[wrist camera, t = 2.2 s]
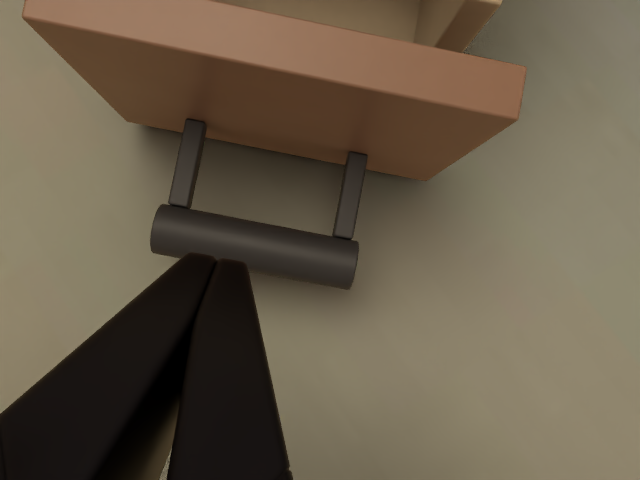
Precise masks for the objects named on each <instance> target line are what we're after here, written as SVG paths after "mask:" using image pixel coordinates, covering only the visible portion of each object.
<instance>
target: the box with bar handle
mask: <svg viewBox="0 0 640 480" xmlns="http://www.w3.org/2000/svg"><path fill="white" fill-rule="evenodd" d="M501 4H502V0H25V3H24V8H23V12H22V18H23V19H24V20H25V21H26V22H27V23H28V24H29V25H30V26H31V27H32V28H33V29H34V30H35V31H36V32H37V33H38V34H39V35H40V36H41V37H42V38H43V39H44V40H45V41H46V42H47V43H48V44H49V45H50V46H51V47H52V48H53V49H54V50H55V51H56V52H57V53H58V54H59V55H60V56H61V57H62V58H63V59H64V60H65V61H66V62H67V63H68V64H69V65H70V66H71V67H72V68H73V69H74V70H75V71H76V72H77V73H78V74H79V75H80V76H81V77H82V78H83V79H84V80H85V81H86V82H87V83H88V84H89V85H91V86H92V87H93V88H94V89H95V90H96V91H97V92H98V93H99V94H100V95H101V96H102V97H103V98H104V99H105V100H106V101H107V102H108V103H109V104H110V105H111V106H112V107H113V108H114V109H115V110H116V111H117V112H118V113H119V114H120V115H121V116H122V117H123V118H124V119H125V120H126V121H127V122H132V123H137V124H142V125H147V126H152V127H157V128H162V129H167V130H172V131H177V132H182V133H183V134H182V139H181V143H180V148H179V153H178V158H177V163H176V167H175V172H174V177H173V182H172V186H171V191H170V196H169V201H168V203H169V204H170V205H166V204H162V205H160V207H159V208H158V210H157V212H156V215H155V218H154V221H153V225H152V230H151V238H150V246H151V251H152V252H153V253H155V254H161V255H166V256H171V257H177V258H182V257H183V256H184V255H186V254H187V253H190V252H195V253H200V254H205V255H211V256H214V257H215V258H216V259H217V261H218V260H219V259H220V258H226V259H232V260H237V261H242V262H244V263H246V265H247V267H248V271H251V272H256V273H262V274H267V275H272V276H278V277H283V278H288V279H294V280H299V281H304V282H309V283H315V284H320V285H325V286H331V287H336V288H341V289H347V290H348V289H350V287H351V285H352V282H353V279H354V275H355V271H356V266H357V260H358V251H359V244H358V242H357V241H353V240H351V239H352V238H353V235H354V229H355V224H356V218H357V213H358V207H359V202H360V197H361V191H362V186H363V180H364V175H365V169H367V170H372V171H377V172H382V173H387V174H392V175H397V176H402V177H407V178H412V179H417V180H422V181H427V180H429V179H430V178H432V177H433V176H435V175H436V174H438V173H439V172H441V171H442V170H444V169H445V168H447V167H448V166H450V165H451V164H453V163H454V162H456V161H457V160H459V159H460V158H462V157H463V156H465V155H466V154H468V153H469V152H471V151H472V150H474V149H475V148H477V147H478V146H480V145H481V144H483V143H484V142H486V141H487V140H489V139H490V138H492V137H493V136H495V135H496V134H498V133H499V132H501V131H502V130H504V129H505V128H507V127H508V126H510V125H511V124H513V123H514V122H516V121H517V120H518V119H519V113H520V107H521V101H522V95H523V89H524V83H525V77H526V71H527V68H526V67H525V66H521V65H516V64H511V63H507V62H502V61H497V60H492V59H488V58H483V57H478V56H474V55H469V54H464V53H463V51H464V50H465V49H466V48H467V46H468V45H469V44H470V43H471V41H472V40H473V39H474V38H475V36H476V35H477V34H478V33H479V31H480V30H481V29H482V28H483V26H484V25H485V24H486V23H487V21H488V20H489V19H490V18H491V16H492V15H493V14H494V13H495V11H496V10H497V9H498V8H499V6H500V5H501ZM205 137H207V138H212V139H217V140H222V141H227V142H232V143H237V144H242V145H247V146H252V147H257V148H262V149H267V150H272V151H277V152H282V153H287V154H292V155H297V156H302V157H307V158H312V159H317V160H322V161H327V162H332V163H337V164H342V165H345V169H344V174H343V180H342V185H341V190H340V196H339V201H338V206H337V212H336V217H335V223H334V228H333V233H332V236H333V237H332V236H327V235H322V234H317V233H311V232H306V231H301V230H296V229H291V228H286V227H280V226H275V225H270V224H265V223H260V222H254V221H249V220H244V219H239V218H234V217H228V216H223V215H218V214H213V213H208V212H203V211H197V210H192V209H190V208H191V204H192V199H193V194H194V190H195V185H196V180H197V175H198V170H199V165H200V160H201V156H202V151H203V146H204V141H205ZM171 205H172V206H171Z"/></svg>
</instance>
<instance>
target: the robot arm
mask: <svg viewBox="0 0 640 480" xmlns="http://www.w3.org/2000/svg"><path fill="white" fill-rule="evenodd" d="M171 447H172V451H171V457H170V463H169V469H168V475H167V480H293V477H292V472H291V471H290V470H289V467H290V464H289V460H288V455H287V450H286V445H285V441H284V436H283V431H282V427H281V422H280V417H279V413H278V408H277V403H276V399H275V394H274V389H273V384H272V380H271V375H270V370H269V366H268V361H267V356H266V352H265V347H264V342H263V338H262V333H261V328H260V323H259V319H258V314H257V309H256V305H255V300H254V295H253V291H252V286H251V281H250V277H249V272H248V267H247V265H246V263H244V262H242V261H237V260H232V259H226V258H220V259H219V260H218V261H217V259H216V258H215V257H214V256H211V255H205V254H200V253H195V252H190V253H187V254H186V255H184V256H183V257H182V258H181V259H180V260H179V261H178V262H176V263H175V264H174V265H173V266H172V267H171V268H169V269H168V270H167V271H166V272H165V273H164V274H162V275H161V276H160V277H159V278H158V279H157V280H155V281H154V282H153V283H152V284H151V285H150V286H148V287H147V288H146V289H145V290H144V291H143V292H141V293H140V294H139V295H138V296H137V297H136V298H135V299H133V300H132V301H131V302H130V303H129V304H128V305H126V306H125V307H124V308H123V309H122V310H121V311H119V312H118V313H117V314H116V315H115V316H114V317H112V318H111V319H110V320H109V321H108V322H107V323H105V324H104V325H103V326H102V327H101V328H100V329H99V330H97V331H96V332H95V333H94V334H93V335H92V336H90V337H89V338H88V339H87V340H86V341H85V342H83V343H82V344H81V345H80V346H79V347H78V348H76V349H75V350H74V351H73V352H72V353H71V354H69V355H68V356H67V357H66V358H65V359H64V360H62V361H61V362H60V363H59V364H58V365H57V366H55V367H54V368H53V369H52V370H51V371H50V372H49V373H47V374H46V375H45V376H44V377H43V378H42V379H40V380H39V381H38V382H37V383H36V384H35V385H33V386H32V387H31V388H30V389H29V390H28V391H26V392H25V393H24V394H23V395H22V396H21V397H19V398H18V399H17V400H16V401H15V402H14V403H12V404H11V405H10V406H9V407H8V408H7V409H5V410H4V411H3V412H2V413H1V414H0V480H159V478H160V476H161V473H162V470H163V468H164V465H165V463H166V460H167V458H168V455H169V452H170V450H171Z"/></svg>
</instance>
